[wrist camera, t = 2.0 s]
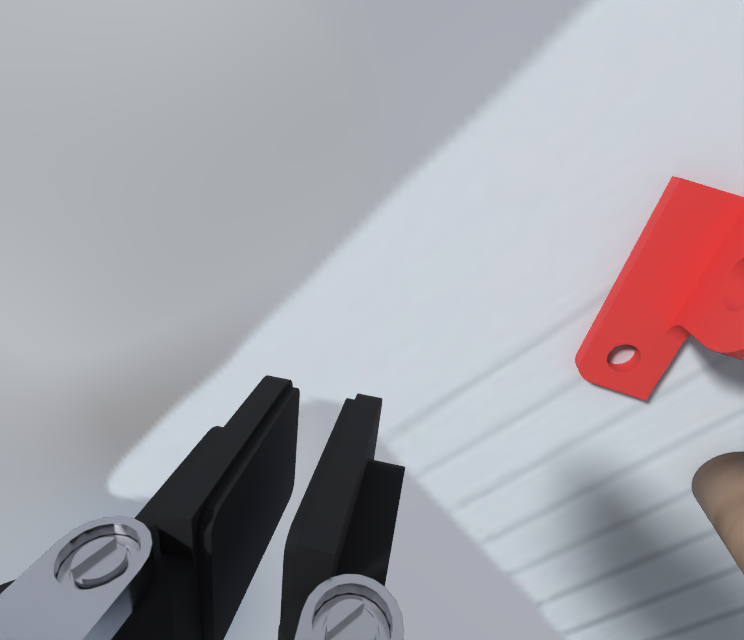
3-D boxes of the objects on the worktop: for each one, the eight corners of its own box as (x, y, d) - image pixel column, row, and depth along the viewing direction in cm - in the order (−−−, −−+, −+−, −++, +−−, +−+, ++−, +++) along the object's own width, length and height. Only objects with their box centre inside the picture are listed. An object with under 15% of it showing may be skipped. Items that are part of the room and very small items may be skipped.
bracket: (671, 176, 24) (762, 195, 17) (758, 202, 24) (888, 234, 16) (568, 367, 29) (603, 446, 22) (639, 390, 28) (698, 478, 21)
